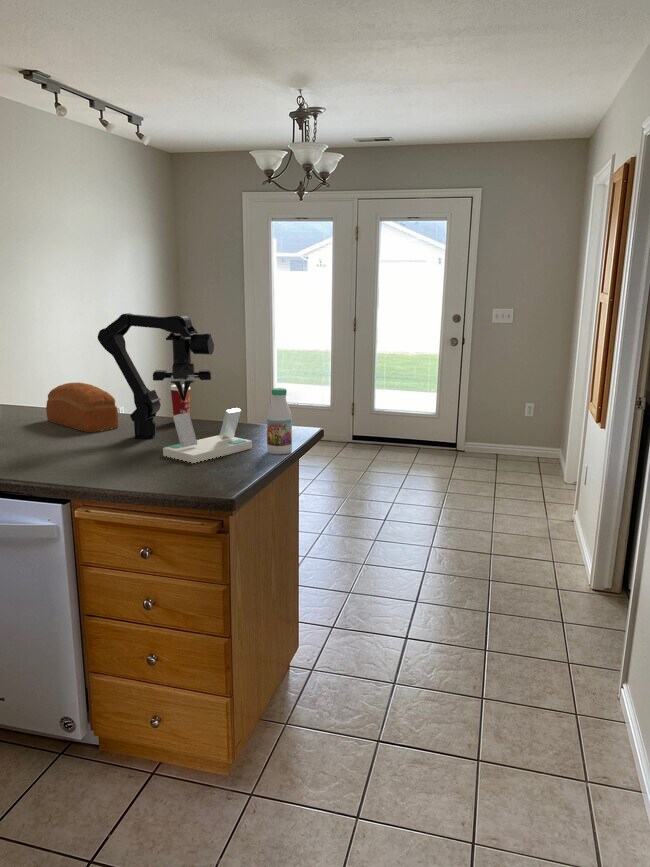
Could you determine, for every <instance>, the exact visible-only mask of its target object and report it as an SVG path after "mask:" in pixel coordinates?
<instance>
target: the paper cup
mask: <svg viewBox="0 0 650 867" xmlns="http://www.w3.org/2000/svg"><path fill="white" fill-rule="evenodd" d="M182 386H183V393H184V383H182ZM190 386H191V385H190ZM190 386H189V389H188V392H187V396H186V399H185V401H182V398H181V396H180V393H179V391H178V388H177V387H176V385H175V384H171V386H170V388H169V390H170V394H171V395H170V396H171V405H172V414H173V416H174V415H178V414H183V413H189V414H190V412H191V410H190V408H191V407H190V406H191V403H190V402H191V387H190ZM190 415H191V414H190Z"/></svg>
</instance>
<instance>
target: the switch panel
mask: <svg viewBox="0 0 650 867" xmlns="http://www.w3.org/2000/svg"><path fill="white" fill-rule="evenodd" d="M219 435H220V434H218V435H214V436H208V437H204V438H201V439H196V440H197V445H193V446H189V447H184V448H181V445H180V443H176V444H171V445H169V446H165V447H163V448H162V453H163V454H162V455H163V457H166V456H167V457H166V458H170V457H171V459H174V458H175V459H174V460H177V459H179V460H178V461H181V460H183V461H182V462H185V461H187V462H186V463H189V462H191V463H190V464H193V463H195V464H197V463H196V462H198V463H201V462H200V461H202V462H205V461H204V460H206V461H209V460H208V459H210V460H213V459H217V458H220V456H221V457H224V456H225V457H226V456H228V455H233V454H236V453H239V452H244V451H246V450H247V451H248V450H250V449H253V440H251V439H246V438H245V439H244V438H242V437H236V436H234V437H233V438H229V439H225V440H221V439H220V438H219ZM216 457H217V458H216ZM212 458H213V459H212Z"/></svg>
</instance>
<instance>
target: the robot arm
mask: <svg viewBox="0 0 650 867" xmlns="http://www.w3.org/2000/svg"><path fill="white" fill-rule="evenodd" d="M132 327H138V328H139V327H140V328H150V329H151V328H152V329H161V330H163V331H165V332H168V333H169V335H168V336H166V338H165V340H166V341H172V342H171V344H172V361H173V362H172V366H171V367H172V369H171V370H172V372H171V371H170V372H168V370H166V369H160V370H159V369H156V370H155V371H153V373H152V381H156V382H157V381H158V382H159V381H164V380H165V379H170V382H171V384H173V385H176V387H177V388H178V391H179V393H180V396H181V398H182V401H185V399H186V396H187V392H188V389H189V386H191V384H192V383H195V378H196V379H197V378H198V379H199V380H200V381H211V380H212V377H213V374H212V372H213V371H212V370H211V369H199V370H198V371H196V372H195V363H192V359H191V358H192V356H191V353H193V354H194V355H203V356H204V355H209V356H210V355H211V356H212V355H213V353H214V350H215V343H214V340H213V337H212V334H211V333H199V332H198V331H197V329H195V327H194V326H193V324H192V320H191V318H190V317H189V316H188V315H186V314H180V315H179V314H178V315H172V316H170V315H169V316H157V315H155V316H154V315H143V314H133V313H130V312H128V313H122V314H120V315H119V317H118V318H116V319H115V320H114V321H113V322H111V323H110V324H109V325H107V326H106V327H104V328H102V329H100V330H99V332H98V334H97V341H98V342H99V343H100V345H101V347H102V348H103V349H104V350H105V351H106V352H108V353H109V354H110V355H111V356H112V357H113V359H114V360H115V363H116V365H117V366H118V368H119V369H120V372H121V374H122V375H123V378H124V379H125V380H126V383H127V385H128V386H129V387H130V390H131V392H132V394H133V401H134V402H133V403H134V406H135V410H134V411H132V413H131V414H130V416H129V417H130V419H131V421H132V422H133V426H134V430H133V431H134V436H133V439H134V440H135V439H154V438H155V436H156V435H157V422H156V421H155V417H156V415H157V413H158V412H159V411H160V409H161V406H162V405H161V398H160V397H159V396H158V394H157V392H156V390H155V389H152V390H150V389H149V388H148V387H147V386H146V384H145V382H144V381H143V379H142V377H141V375H140V373H139V371H138V370H137V368H136V366H135V364H134V363H133V360H132V358H131V357H130V354H129V353H128V351H127V346H126V345H127V344H126V340H125V337H124V336H125V335H126V334H127V333H128V332H129V330H130V328H132ZM182 379H183V380H184V381H183V380H182ZM183 382H184V383H183ZM182 384H184V393H183V386H182Z"/></svg>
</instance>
